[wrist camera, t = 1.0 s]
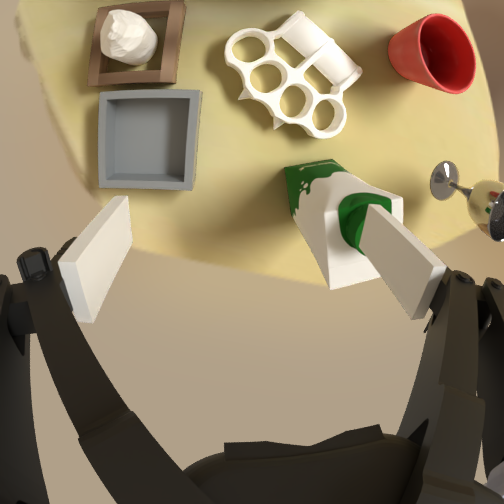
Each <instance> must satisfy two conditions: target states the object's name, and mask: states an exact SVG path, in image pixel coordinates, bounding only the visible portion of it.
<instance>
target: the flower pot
mask: <svg viewBox="0 0 504 504" xmlns="http://www.w3.org/2000/svg"><path fill="white" fill-rule="evenodd" d="M388 56H389V60H390V62H391V64H392V66H393V68H394V69H395V70H396V71H397V72H398V73H399V74H400V75H401V76H403V77H404V78H406V79H409V80H412V81H414V82H417V83H420V84H423V85H426V86H429V87H432V88H435V89H437V90H440V91H444V92H447V93H450V94H460V93H463V92H464V91H466V90H467V89H468V88H469V87H470V86H471V84H472V82H473V80H474V77H475V72H476V59H475V54H474V50H473V47H472V44H471V42H470V40H469V38H468V36H467V34H466V33H465V31H464V30H463V29H462V27H461V26H460V25H459V24H458V23H457V22H455V21H454V20H453V19H451V18H450V17H448V16H446V15H443V14H430V15H427V16H425V17H423V18H422V19H420V20H418V21H416V22H414V23H413V24H411V25H409V26H407V27H406V28H404V29H402V30H401V31H399V32H398V33H397V34H395V35H394V36H393V37H392V38H391V39H390V41H389V45H388Z"/></svg>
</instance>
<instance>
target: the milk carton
mask: <svg viewBox="0 0 504 504" xmlns="http://www.w3.org/2000/svg"><path fill="white" fill-rule="evenodd" d="M284 169H285V175H286V182H287V189H288V196H289V203H290V210H291V215H292V217H293V219H294V221H295V223H296V225H297V226H298V228H299V230H300V232H301V233H302V235H303V237H304V239H305V240H306V242H307V244H308V246H309V247H310V249H311V252H312V253H313V255H314V257H315V259H316V261H317V263H318V265H319V267H320V269H321V272H322V274H323V276H324V278H325V280H326V282H327V285H328V287H329V290H333V289H337V288H341V287H345V286H349V285H353V284H356V283H360V282H364V281H367V280H371V279H375V278H379V277H381V276H380V274H379V273H378V272H377V270H376V269H375V268H374V266H373V265H372V263H371V262H370V261H369V259H368V258H367V257H366V255H365V254H364V253H363V252H362V250H361V249H360V248H359V244H360V240H361V236H362V231H363V227H364V223H365V219H366V214H367V210H368V205H369V204H376V205H381V206H382V207H383V208H384V209H386V210H387V211H388V212H389V213H390V214H391V215H393V216H394V217H395V218H396V219H397V220H398V221H399V222H400V223H402V224H403V198H402V197H400V196H398V195H395V194H392V193H390V192H387V191H384V190H381V189H379V188H376V187H373V186H370V185H368V184H367V183H365V182H364V181H362V180H361V179H359V178H358V177H356V176H354V175H353V174H351V173H350V172H348V171H347V170H345V169H344V168H343V167H342V166H340V165H339V164H338V163H337V162H335V161H334V160H333V159H330V160H324V161H318V162H312V163H306V164H301V165H295V166H290V167H285V168H284Z"/></svg>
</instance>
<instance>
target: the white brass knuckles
mask: <svg viewBox="0 0 504 504" xmlns="http://www.w3.org/2000/svg"><path fill="white" fill-rule="evenodd" d="M245 37H256V38H258V39H260V40H261V41H262V42H263V43H264V45H265V48H266V51H265V55H264V56H263V57H262V58H260V59H258V60H256V61H254V62H249V63H246V62H241V61H239V60H238V59H236V58H235V57H234V55H233V53H232V46H233V45H234V44H235V43H236V42H237V41H239V40H241V39H243V38H245ZM280 37H282V38H283V39H284V40H286V41H287V42H288V43H289V44H290V45H291V46H293V47H294V48H295V49H296V50H297V51H298V52H299V53H300V54H302V55H303V56H304V57H305V59H304V60H303V61H302V62H301V63H300V64H299V65H298V66H297V67H296V68H292V67H290V66H289V65H288V64H287V63H286V62H285V61H283V60H282V59H281V58H280V57H279V56H278V55H276V54H275V52H274V47H275V46H274V39H279V38H280ZM224 58H225V62H226V64H227V66H230V67H232V68H233V69H235V70H236V71H237V72H238V73H239V75H240V76H241V79H242V82H243V88H244V89H243V91H242V93H241V94H240V96H239V98H238V100H242V99H249V98H251V99H252V100H256V101H259V102H260V103H262V104H263V105H264V106H265V107H266V108H267V109H268V111H269V113H270V115H271V116H272V117H274V120H273V130H275V129H276V128H278V127H279V126H281V125H282V124H284V123H287V124H298V125H299V126H301V127H302V128H303V129H304V130H305V131H306V133H307V135H309V136H312V137H314V138H318V139H328V138H331V137H334V136H335V135H337V134H338V133H339V132H340V131H341V130H342V129H343V127H344V125H345V122H346V109H345V106H344V104H343V102H342V96H343V91H344V90H346V89H347V88H348V87H350V86H351V85H352V84H353V83H354V82H355V81H356V80H357V79H358V78H359V77H360V76H361V74H362V73H363V71H362V68H361V67H360V66H357V65H356V64H355V63H354V62H353V61H352V60H351V58H350V57H349V56H348V55H347V54H346V53H345V52H344V51H343V50H342V49H341V48H340V47H339V46H338V45H337V44H336V43H335V42H334V40H333V39H332V38H329V37H328V36H327V35H326V34H325V33H324V32H323V31H322V30H321V29H320V28H319V27H318V26H316V25H315V24H314V23H313V22H312V21H311V20H310V19H308V18H307V17H306V16H305V14H304V13H303V12H302V11H299V10H298V11H297V12H296V13H294V14H293V15H292V16H291V17H290V18H288V19H287V20H286V21H285V22H284V23H283V24H282V25H281V26H280V27H278V28H277V29H276V30H275V31H269V32H266V31H264V30H261V29H257V28H246V29H242V30H239V31H237V32H236V33H234V34H233V35H232V36H231V37H230V38H229V39H228V41H227V43H226V45H225V50H224ZM263 64H271V65H274V66H276V67H277V68H278V69H279V70H280V72H281V75H282V81H281V83H280V85H279V86H278V87H277V88H276V89H274V90H272V91H270V92H268V93H261V92H258V91H257V90H255V89H254V88H253V87H252V85H251V83H250V79H249V77H250V73H251V71H252V70H253V69H255V68H256V67H258V66H260V65H263ZM312 64H313V65H314V66H315V67H316V68H317V69H318V70H319V71H320V72H321V73H322V74H323V75H324V76H325V77H326V78H327V79H328V80H329V81H330V82H331V83H332V84H333V86H332V87H331V92H330V93H329V94H319V93H318V92H317V91H316V90H315V89H314V88H313V87H312V86H311V85H310V84H309V83H308V82H307V81H306V80H305V79H304V77H303V73H304V72H305V71H306V70H307V69H308V68H309V67H310V66H311V65H312ZM290 85H293V86H297V87H299V88H300V89H302V91H303V92H304V94H305V96H306V102H305V105H304V107H303V109H302V111H301V112H300V113H299V114H298V115H297V116H295V117H287V116H285V115H284V114H283V113H282V111H281V110H280V107H279V100H280V98H281V96H282V93H283V92H284V90H285V89H286V88H287V87H288V86H290ZM324 99H325V100H327V101H329V102H330V103H331V104H332V105H333V107H334V111H335V115H334V118H333V120H332V122H331V124H330V126H329V127H328V128H326V129H324V130H317V129H316V128H315V126H314V125H313V122H312V113H313V111H314V109H315V107H316V105H317V104H318V103H319V102H320V101H322V100H324Z"/></svg>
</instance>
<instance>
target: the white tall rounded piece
mask: <svg viewBox="0 0 504 504" xmlns="http://www.w3.org/2000/svg"><path fill="white" fill-rule="evenodd" d="M100 41H101V42H100V43H101V51H102V53H103V54H105V55H106V56H108V57H110V58H113V59H116V60H118V61H121V62H124V63H127V64H130V65H142V64H144V63H146V62H148V61H149V60H150V59H151V58H152V56H153V55H154V53H155V51H156V49H157V45H158V37H157V35H156V33H155V32H154V31H153V29H152V28H151V27H150V26H149V24H148V23H147V22H146V21H145V20H144V19H143V18H142V17H141V16H140V15H138V14H136V13H133V12H130V11H125V10H119V9H118V10H112V11H109V13H108V16H107V18H106V19H105V21H104V23H103V26H102V29H101V32H100Z"/></svg>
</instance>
